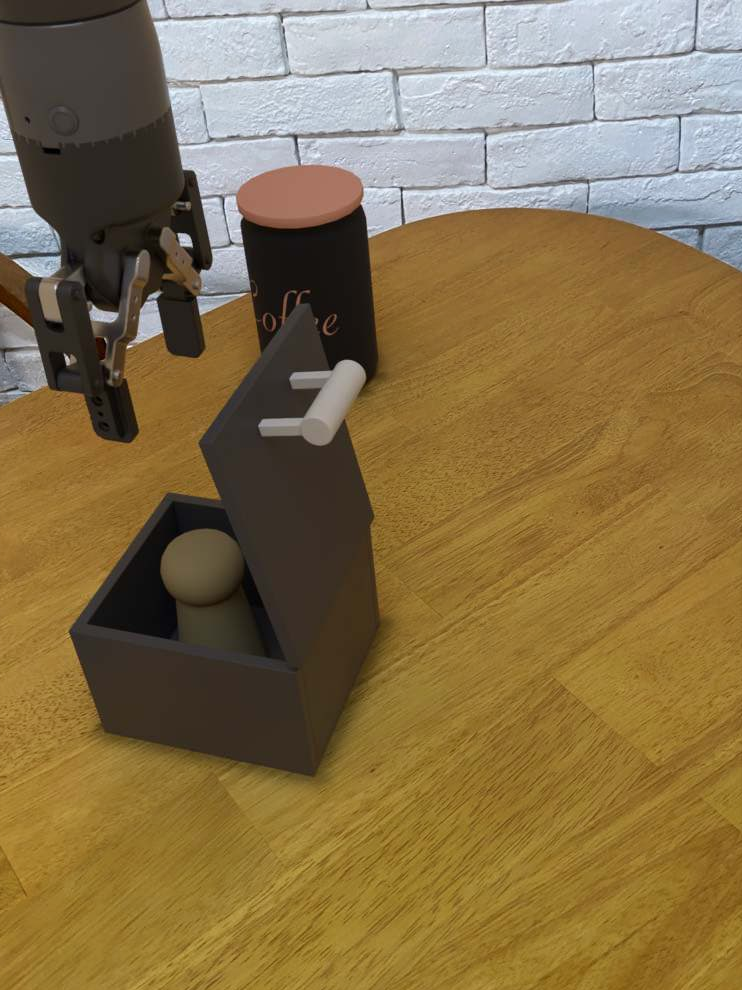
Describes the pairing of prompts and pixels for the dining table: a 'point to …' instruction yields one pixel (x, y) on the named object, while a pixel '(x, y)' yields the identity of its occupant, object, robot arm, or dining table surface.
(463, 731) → the dining table surface
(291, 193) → the coffee jar
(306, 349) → the lid
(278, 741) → the dark brown wooden box
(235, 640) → the tan peg doll
